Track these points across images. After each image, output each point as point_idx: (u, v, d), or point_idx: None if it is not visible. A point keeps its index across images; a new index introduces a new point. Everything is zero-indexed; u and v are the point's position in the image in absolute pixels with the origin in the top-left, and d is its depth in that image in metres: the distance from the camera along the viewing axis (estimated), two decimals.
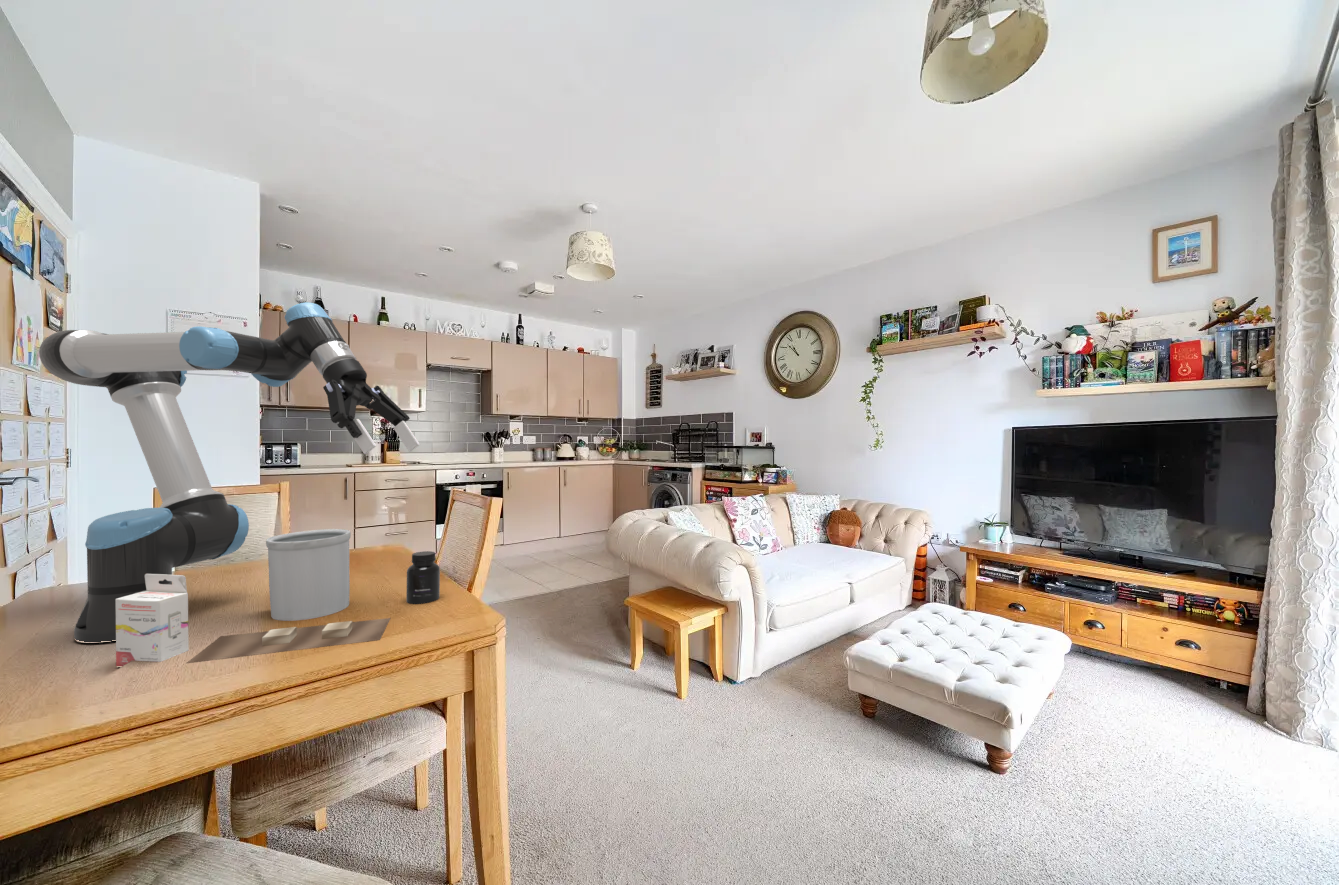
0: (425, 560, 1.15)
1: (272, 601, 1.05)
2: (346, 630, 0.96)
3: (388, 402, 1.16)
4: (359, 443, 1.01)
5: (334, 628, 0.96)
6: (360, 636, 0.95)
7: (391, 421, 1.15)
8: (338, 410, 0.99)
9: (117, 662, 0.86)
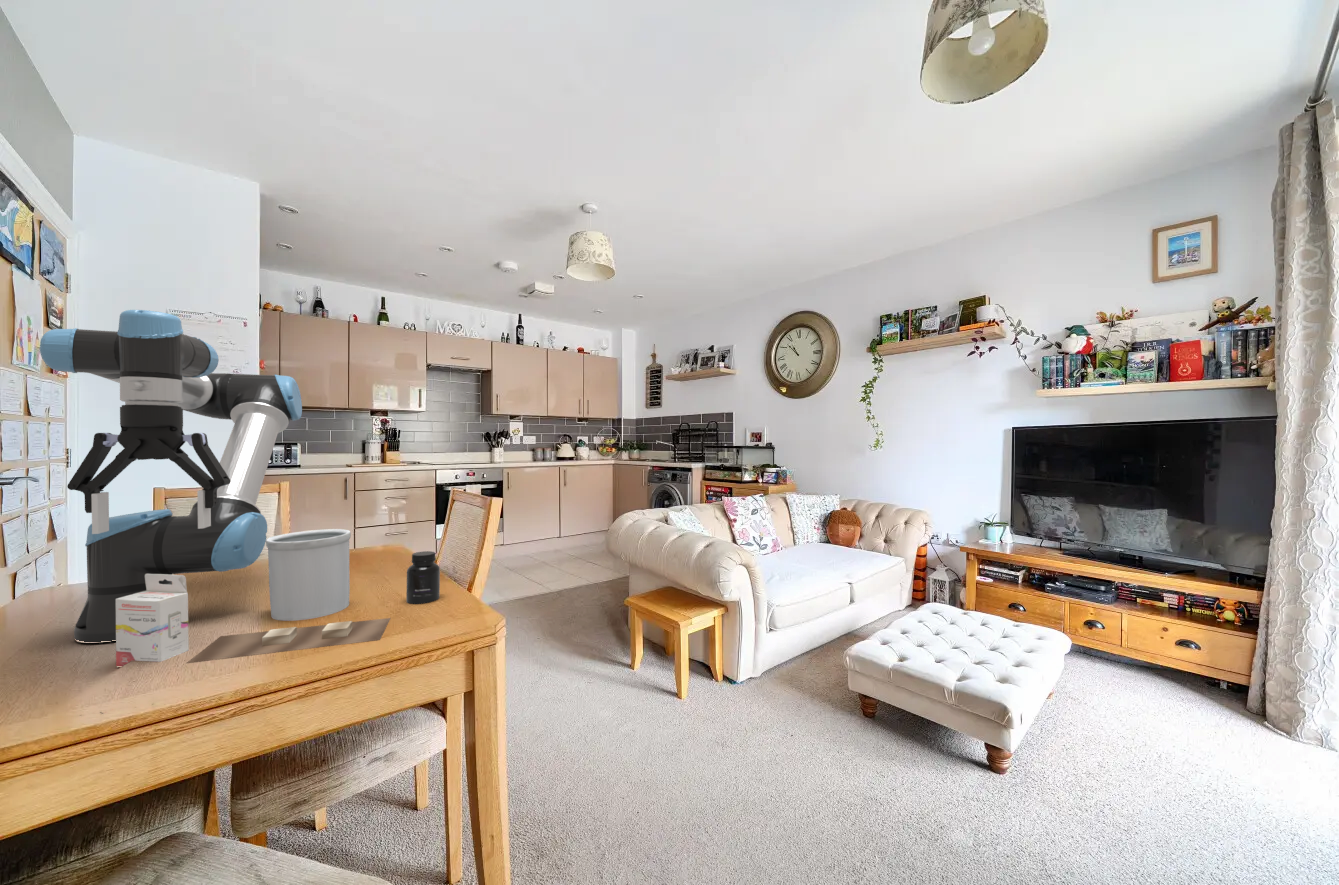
0: (425, 560, 1.15)
1: (272, 601, 1.05)
2: (346, 630, 0.96)
3: None
4: None
5: (334, 628, 0.96)
6: (360, 636, 0.95)
7: None
8: None
9: (117, 662, 0.86)
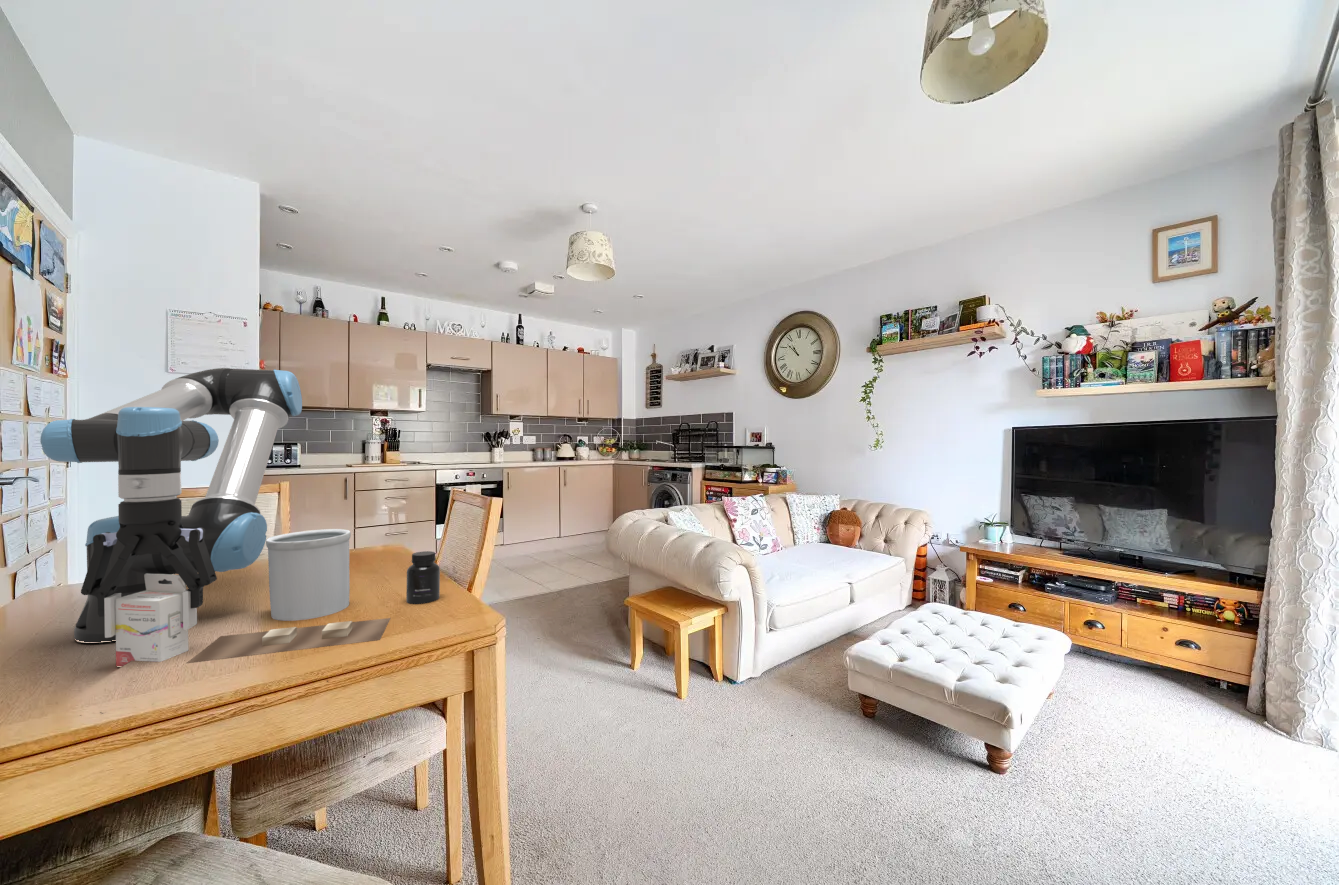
0: (425, 560, 1.15)
1: (272, 601, 1.05)
2: (346, 630, 0.96)
3: None
4: None
5: (334, 628, 0.96)
6: (360, 636, 0.95)
7: None
8: None
9: (117, 662, 0.86)
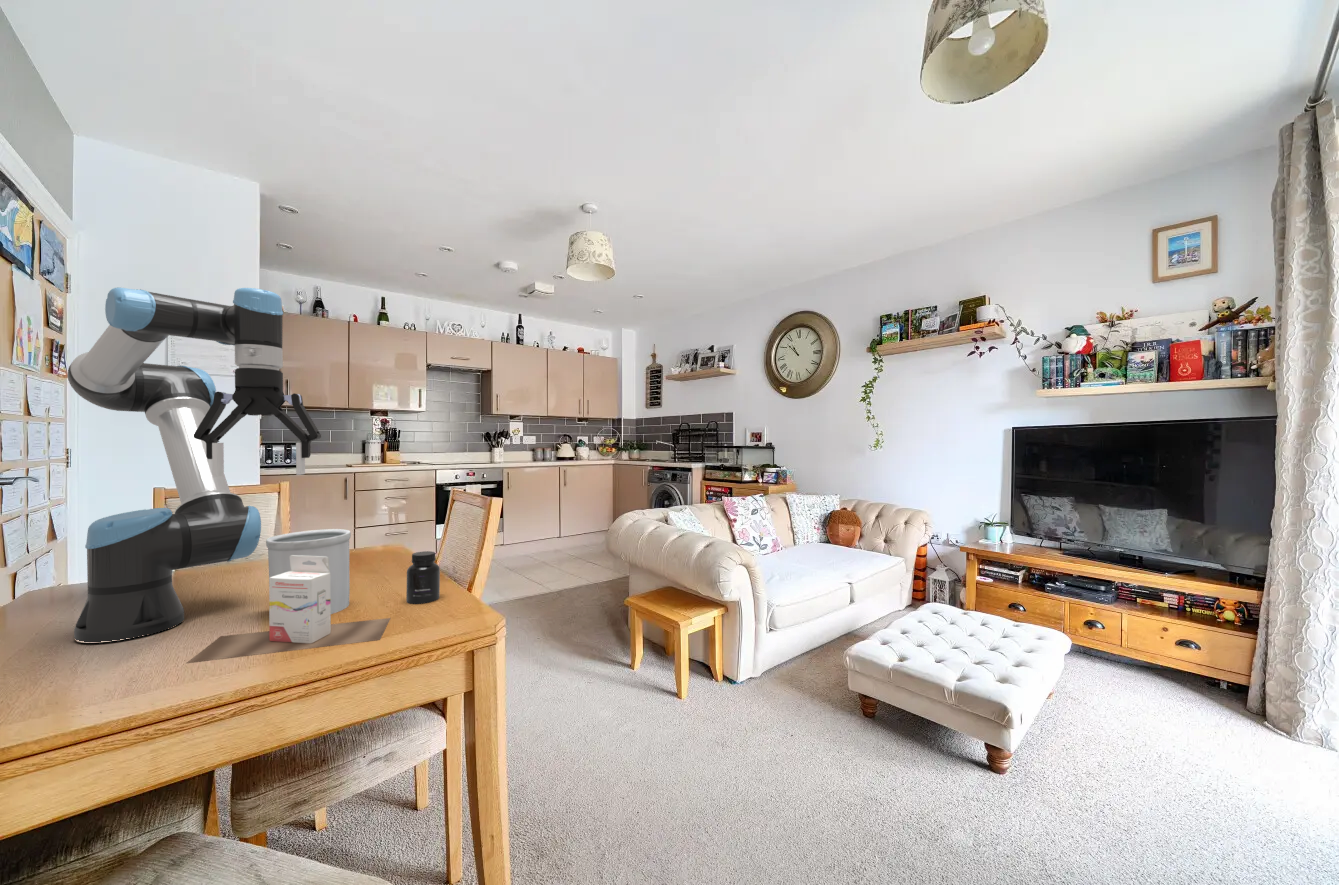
0: (425, 560, 1.15)
1: None
2: None
3: None
4: None
5: None
6: (360, 636, 0.95)
7: None
8: None
9: (270, 636, 0.93)
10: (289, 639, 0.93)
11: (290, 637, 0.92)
